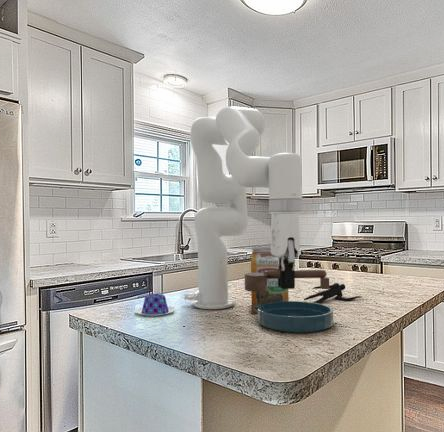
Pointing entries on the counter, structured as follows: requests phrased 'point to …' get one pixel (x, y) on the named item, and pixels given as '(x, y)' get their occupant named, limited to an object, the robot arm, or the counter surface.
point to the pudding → (155, 306)
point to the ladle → (259, 280)
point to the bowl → (295, 316)
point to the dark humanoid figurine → (331, 293)
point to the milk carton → (260, 264)
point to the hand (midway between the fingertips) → (286, 286)
